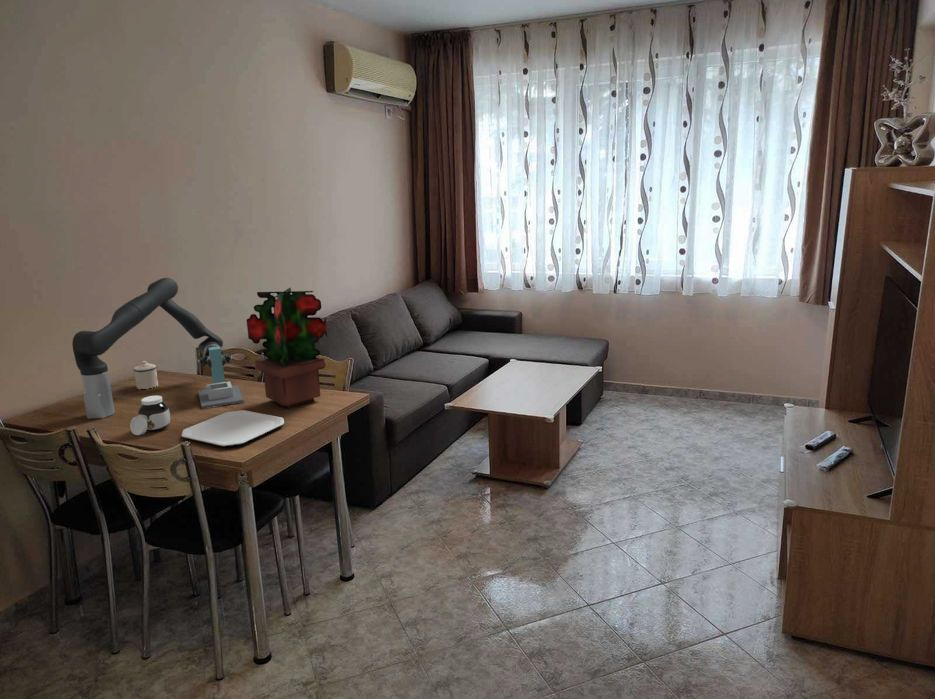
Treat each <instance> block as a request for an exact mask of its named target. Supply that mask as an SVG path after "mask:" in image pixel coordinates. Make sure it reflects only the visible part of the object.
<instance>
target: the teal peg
mask: <svg viewBox="0 0 935 699" xmlns="http://www.w3.org/2000/svg"><path fill="white" fill-rule="evenodd" d="M221 349H222V347H221V348H220V346H218V347H210V348H209V356H210V361H211V366H212V367H210V369H211V377H212V384H214V383H222V382H226V381H225V379H226V378H225V373H224V372H225V371H224V365H223V364H222V354H221Z"/></svg>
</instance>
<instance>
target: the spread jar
mask: <svg viewBox="0 0 935 699" xmlns="http://www.w3.org/2000/svg"><path fill="white" fill-rule="evenodd" d="M170 423H171V412H170V408H169V406H168V404H167V403H165V402H164V401H163V396H161V395H150V396H146V397H143V398H141V405H140V407H139V409H138V411H137V415H136V416H133V418H132V419H131V421H130V424H129V425H130V427H129V428H130V431H131V433H132V434H133V435H135V436H142V435H144V434H145V433H146V432H148V433H157V432H161V431H164V430H165V429H166V428H167V427H168V426H169V425H170Z"/></svg>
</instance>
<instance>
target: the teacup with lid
mask: <svg viewBox="0 0 935 699" xmlns="http://www.w3.org/2000/svg"><path fill="white" fill-rule="evenodd" d="M133 374H134V379H135V383H136V389H138V390H141V389H146V390H150V389H149V388H152V389H154V388H153V387H155V388H157V387H159V380H158V375H157V374H158V372H157V365H155V364H151V363H149V362H147V360H143V361H141V363H139V365H137V366H135V367H134V368H133ZM156 386H157V387H156Z"/></svg>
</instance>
